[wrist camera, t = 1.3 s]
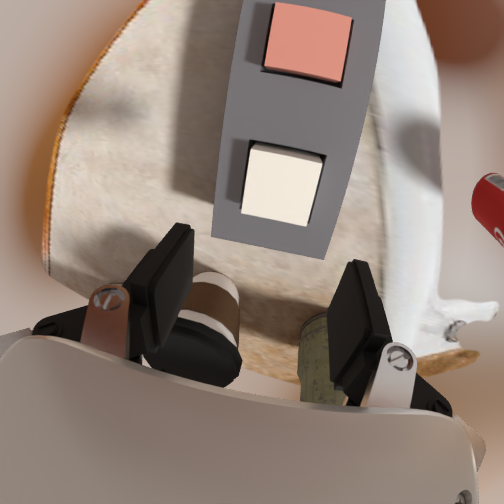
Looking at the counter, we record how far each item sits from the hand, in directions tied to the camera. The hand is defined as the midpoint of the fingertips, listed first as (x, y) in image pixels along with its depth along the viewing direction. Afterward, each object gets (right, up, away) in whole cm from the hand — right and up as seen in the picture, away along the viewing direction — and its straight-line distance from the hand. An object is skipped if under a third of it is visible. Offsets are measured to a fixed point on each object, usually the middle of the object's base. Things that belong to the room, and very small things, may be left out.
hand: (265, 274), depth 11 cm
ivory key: (+2, +7, +11) cm, 13 cm away
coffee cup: (-5, -4, +25) cm, 26 cm away
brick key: (+4, +16, +5) cm, 17 cm away
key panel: (+3, +14, +12) cm, 18 cm away
